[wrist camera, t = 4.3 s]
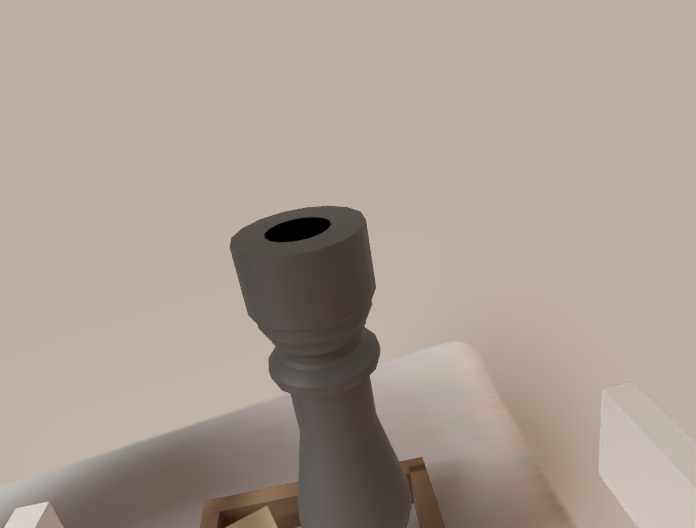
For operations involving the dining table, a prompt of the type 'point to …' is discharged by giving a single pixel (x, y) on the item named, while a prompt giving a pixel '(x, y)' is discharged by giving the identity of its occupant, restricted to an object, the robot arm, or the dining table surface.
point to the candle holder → (325, 360)
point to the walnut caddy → (286, 502)
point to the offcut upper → (256, 520)
